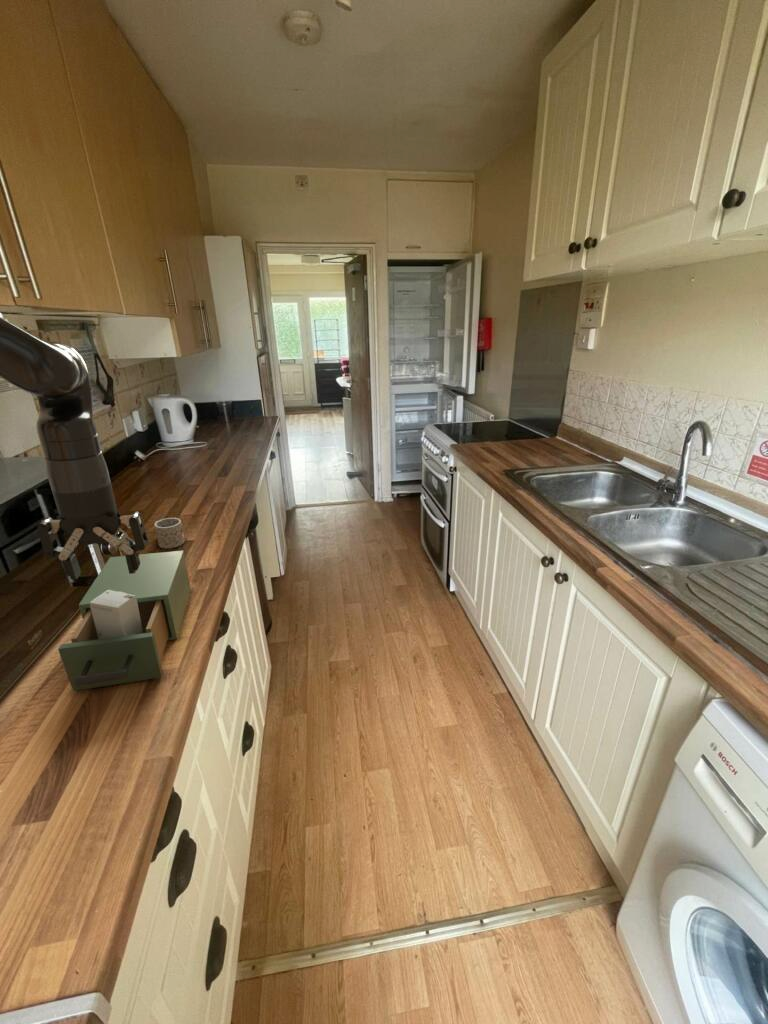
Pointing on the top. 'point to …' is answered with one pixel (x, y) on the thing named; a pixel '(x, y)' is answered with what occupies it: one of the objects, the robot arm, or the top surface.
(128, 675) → the drawer
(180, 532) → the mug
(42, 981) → the top surface
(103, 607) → the cosmetic box
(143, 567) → the cabinet
